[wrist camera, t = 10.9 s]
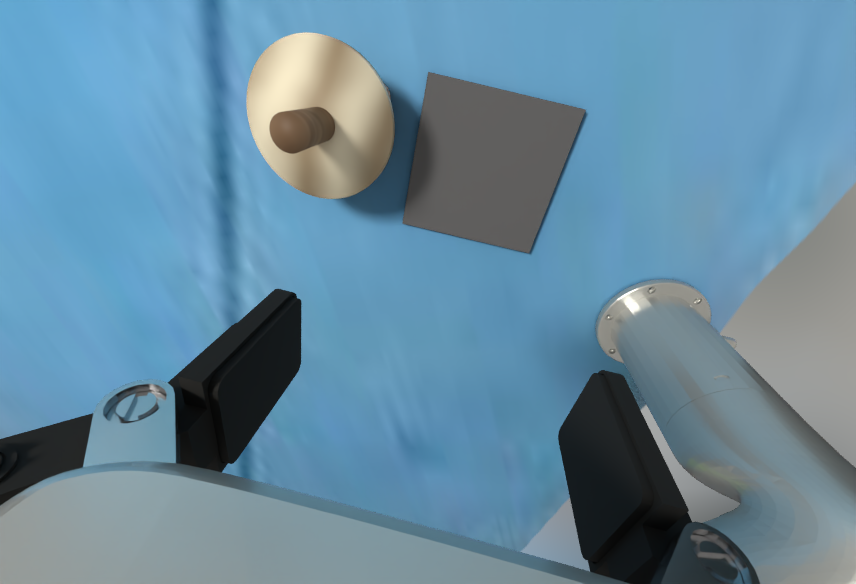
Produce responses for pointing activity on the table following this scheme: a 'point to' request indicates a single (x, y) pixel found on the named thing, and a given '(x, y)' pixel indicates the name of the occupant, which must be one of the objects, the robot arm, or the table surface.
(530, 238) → the mat
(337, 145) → the lid
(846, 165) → the table surface
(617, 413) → the robot arm
